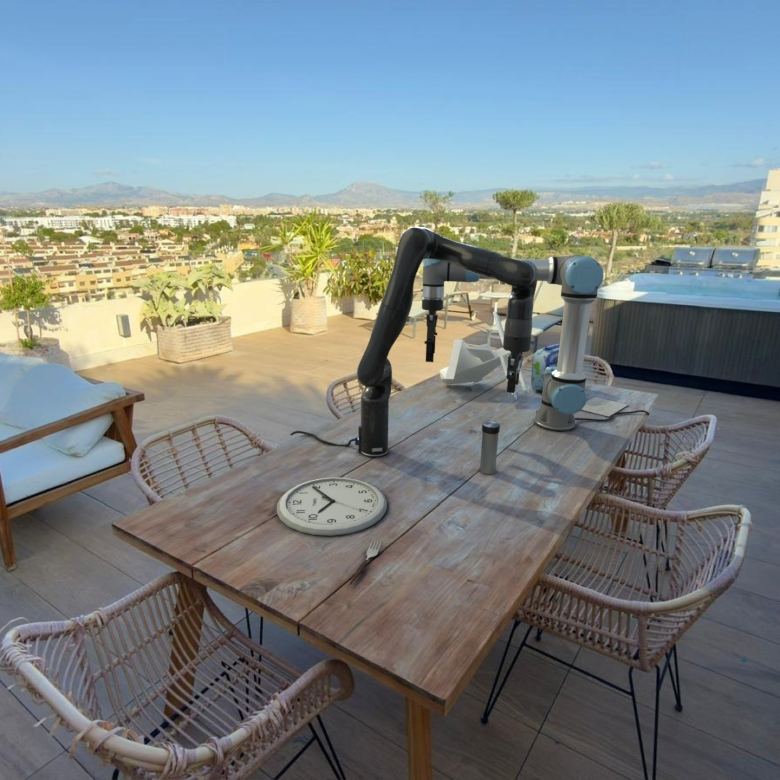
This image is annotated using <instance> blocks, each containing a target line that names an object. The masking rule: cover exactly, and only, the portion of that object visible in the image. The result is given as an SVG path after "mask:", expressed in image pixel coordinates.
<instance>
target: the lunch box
mask: <svg viewBox="0 0 780 780" xmlns="http://www.w3.org/2000/svg"><path fill="white" fill-rule="evenodd" d="M559 346H560V343H555V344H552V345H547V346H545V347H542V348H539V349H537V350H536V351H535V353H534V355H533V358H532V363H531V364H532V365H531V376H530V377H531V378H530V387H531V389H532V390H536V391H539V392H540V391H541V392H543V382H544V373H545V369H546V368H547V367H553V366H557V364H558V355H559Z"/></svg>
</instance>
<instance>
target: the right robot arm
mask: <svg viewBox="0 0 780 780" xmlns="http://www.w3.org/2000/svg"><path fill="white" fill-rule="evenodd" d="M515 259H516V260H520V261H523V260H529V261H531V262H533V263H534V264H535V265H536V267H537V269H538V280H537V282H546V283H547V284H548V285H557V286H561V289H560V298H561V299H562V300H563V303H564V305H563V313H562V322H561V330H560V339H559V344H560V346H559V355H558V364H557V366H553V367H547V368H546V369H545V373H544V382H543V391H541V392H542V394H541V402H540V405H539V407H538V410H537V409H536V410H535V417H534V424H535V425H536V426H537V427H539V428H542V429H544V430H549V431H556V432H567V431H572V430H574V429H575V428H576V421H592V422H609V421H611V420H613V417H614V416H618V415H623V414H624V415H626V414H637V413H645V414H647V415H650V413H649V412H648V411H646V410H644V409H638V410H632V411H621V412H620V411H618V412H616V413H614V414H612V415H611V416H609V417H608V418H605V419H603V418H602V419H601V418H587V417H586V418H584V417H576V416H575V414H576V413H579V412H580V411H582V410H581V409H582V408H583V407H584V406H585V404H586V401H588V397H587V392H586V389H585V388H586V383H587V382H586V381H587V375H586V374H585V373H584V371H583V369H584V361H585V355H586V347H587V339H588V338H587V337H588V330H589V324H590V318H591V317H590V316H591V308H592V303H593V302H594V301H596V300H597V298H598V294H599V293H598V291H599V288H601V285H602V284H603V281H604V269H603V267H602V265H601V264H600V262H599V261H597V260H596V259H595V258H594V257H592V256H587V255H581V254H574V255H573V254H572V255H565V256H551V257H549V258H548V259H545V258H544V259H543V258H542V259H541V258H540V259H539V258H515ZM422 264H423V265H422V288H420V292H421V293H422V294H421V296H422V299H421V309H422V310H423V311H428V313H426V316H425V320H426V340H424V342H423V343H424V344H425V362H426V363H434V359H435V357H434V356H435V353H436V338H437V337H436V336H438V332H437V329H436V328H437V324H438V318H439V315H438V314H437V311H438V312H439V311H442V310H444V299H443V298H444V297H445V282H447V283H449V282H452V283H453V282H457V283H468V284H470V283H477V282H479V281H480V280H495V281H498V280H497V279H494V278H489V277H486V276H482V275H479V274H476V273H473V272H470V271H468V270H465V269H463V268H461V267H459V266H457V265H454V264H452V263H449V262H445V261H441V260H435V259H423V261H422Z"/></svg>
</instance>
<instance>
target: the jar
mask: <svg viewBox="0 0 780 780" xmlns="http://www.w3.org/2000/svg"><path fill="white" fill-rule="evenodd" d="M499 433H500V432H499ZM499 433H497V434H488V433H485V432H483V431H482V433H481V435H482V436H481V445H480V446H481V448H480V460H479V472H480V473H482V474H484V475H494V474H495V473H496V469H497V468H496V467H497V457H498V456H497V455H498V444H499Z"/></svg>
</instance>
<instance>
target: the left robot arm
mask: <svg viewBox="0 0 780 780" xmlns="http://www.w3.org/2000/svg"><path fill="white" fill-rule="evenodd" d="M424 259H435V260H441V261H445V262H449V263H452V264H454V265H457V266H459V267H461V268H463V269H465V270H468V271H470V272H473V273H476V274H479V275H482V276H486V277H489V278H494V279H493V280H496V279H497V280H496V281H499V282H501V283H504V284H506V285H508V286H511V291H510V296H509V297H508V300H507V307H506V318H505V322H504V328H503V331H504V340H503V345H502V348H503V349H504V350H507V351H510V352H511V355H509V357H508V359H507V376H506V377H505V380H506V379H507V380H508V382H507V380H506V383H507V384H506V392H507V393H510V394H511V393H514V392H515V391H516V386H518V385H519V382H520V379H519V372H520V371H521V368H523V362H524V361H523V360H524V356H523V353H527V352H529V351H530V349H531V342H532V334H533V333H532V331H533V315H534V314H533V312H534V298H535V295H536V291H537V290H536V289H537V284H538V281H537V280H538V269H537V267H536V265H535V264H534V263H533V262H531V261H529V260H523V261H520V260H516V259H517V258H512V257H508V256H504V254H502V253H499V252H497V251H493V250H490V249H486V248H482V247H479V246H474V245H470V244H466V243H461V242H459V241H456V240H453V239H449V238H448V237H445V236H443V235H440V234H439V233H436V232H435V231H434V230H433V231H432V230H431V229H429V228H427V227H424V226H411V227H409V228H407V229H406V230H405V231H403V233H402V234H401V236H400V238H399V241H398V245H397V249H396V254H395V258H394V264H393V268H392V271H391V274H390V277H389V279H388V281H387V285H386V288H385V291H384V294H383V296H382V299H381V302H380V305H379V308H378V311H377V314H376V318H375V320H374V324H373V327H372V330H371V333H370V337H369V340H368V343H367V345H366V348H365V350H364V352H363V355H362V357H361V359H360V360H359V363H358V365H357V368H356V369H357V370H356V377H357V379H358V382H359V383H360V384H361V385H362V386H363V387H364V389H363V391H362V394H361V396H360V425H358V430H357V431H358V432H357V433H358V435H356V436H355V437H354V438H351V439H349V441H348V442H347V443H345V444H339V443H334V442H331V441H327V440H324V439H321V438H320V437H319V436H317V435H316V434H314V433H311V432H306V431H302V430H295V431H292V432H291V433H290V434H289V436H293V435H295V434H303V435H306V436H310V437H314V438H315V439H316V440H317V441H319V442H321V443H323V444H326V445H329V446H333V447H349V446H350V445H351V443H352V442H354V445H355V446H358V454H362V455H363V456H366V457H369V458H371V457H372V458H379V457H383V456H386V455H387V454H389V418H390V417H389V415H390V414H389V411H390V410H389V409H390V407H389V405H390V397H391V394H392V382H393V368H392V367H393V366H392V363H391V361H390V359H389V358H388V356H389V353H390V351H391V349H392V347H394V344H395V342H396V341H397V339H398V338H399V337H400V335H401V333H402V332H403V330H404V328H405V326H406V323H407V320H408V318H409V316H410V313H411V311H412V307H413V302H414V301H413V300H414V287H415V286H414V285H415V280H416V277H417V274H418V271H419V270H420V267H421V264H422V263H423V261H424Z"/></svg>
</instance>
